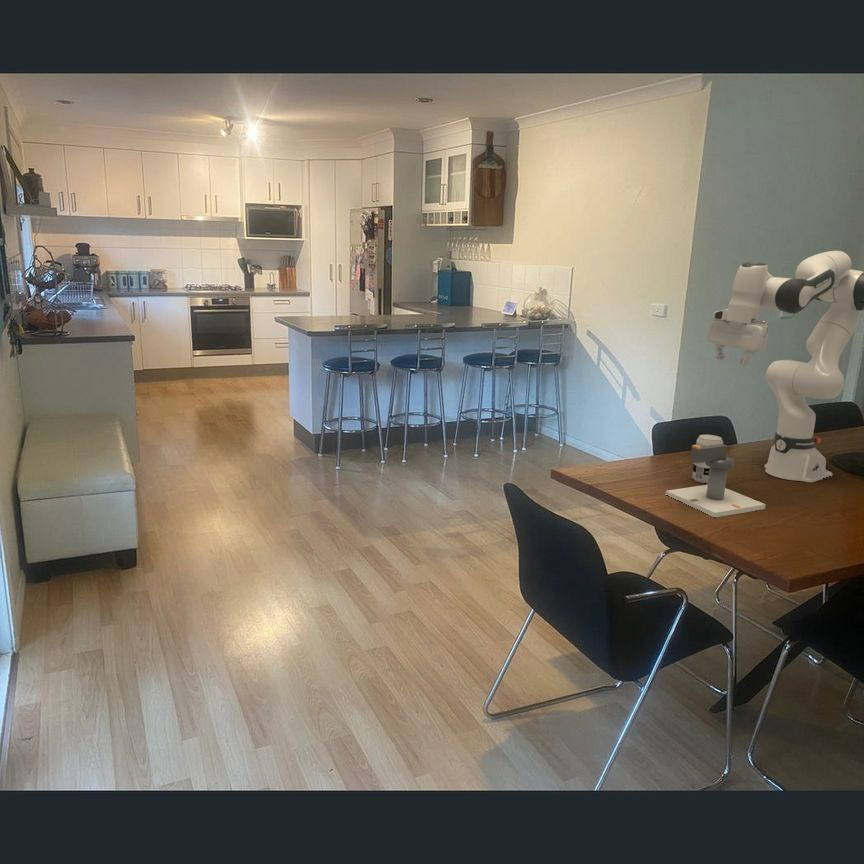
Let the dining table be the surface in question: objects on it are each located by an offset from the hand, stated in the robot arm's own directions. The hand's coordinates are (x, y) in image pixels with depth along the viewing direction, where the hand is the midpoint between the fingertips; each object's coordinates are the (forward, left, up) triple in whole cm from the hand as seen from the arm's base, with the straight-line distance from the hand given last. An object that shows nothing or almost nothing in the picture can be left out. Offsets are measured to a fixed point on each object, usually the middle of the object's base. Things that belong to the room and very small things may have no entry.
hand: (731, 362), depth 213 cm
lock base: (+8, +8, -41) cm, 43 cm away
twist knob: (+11, +8, -30) cm, 33 cm away
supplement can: (-5, -9, -42) cm, 43 cm away
